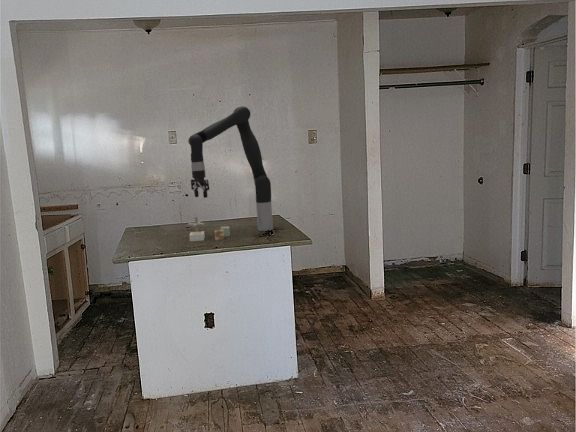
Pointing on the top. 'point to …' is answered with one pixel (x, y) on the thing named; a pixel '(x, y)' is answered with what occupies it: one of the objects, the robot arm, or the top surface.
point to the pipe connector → (196, 224)
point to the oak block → (219, 234)
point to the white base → (197, 236)
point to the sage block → (226, 231)
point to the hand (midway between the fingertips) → (201, 197)
